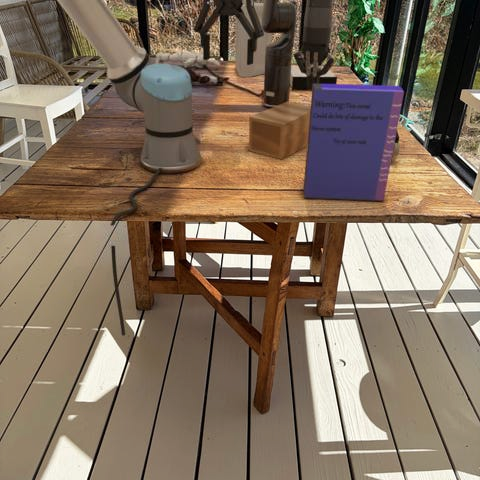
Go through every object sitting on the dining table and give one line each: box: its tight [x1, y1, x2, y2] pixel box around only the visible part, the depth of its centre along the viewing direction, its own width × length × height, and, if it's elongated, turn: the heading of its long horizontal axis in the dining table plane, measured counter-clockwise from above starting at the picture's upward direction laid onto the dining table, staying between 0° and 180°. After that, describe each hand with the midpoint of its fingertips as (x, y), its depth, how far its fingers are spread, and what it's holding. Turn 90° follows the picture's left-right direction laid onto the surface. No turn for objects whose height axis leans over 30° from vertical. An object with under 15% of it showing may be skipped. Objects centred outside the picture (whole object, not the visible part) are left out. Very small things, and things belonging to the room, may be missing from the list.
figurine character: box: [392, 131, 400, 157], centre depth 128 cm, size 7×8×15 cm
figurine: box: [175, 64, 230, 86], centre depth 193 cm, size 24×8×30 cm
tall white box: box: [234, 2, 273, 78], centre depth 210 cm, size 19×15×28 cm
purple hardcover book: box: [302, 83, 405, 202], centre depth 102 cm, size 17×5×24 cm, turn 86°
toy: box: [155, 50, 221, 69], centre depth 223 cm, size 24×25×7 cm
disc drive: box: [290, 65, 338, 91], centre depth 199 cm, size 18×22×5 cm
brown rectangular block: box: [248, 101, 311, 160], centre depth 133 cm, size 19×11×10 cm, turn 144°
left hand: (227, 61), depth 135 cm, fingers open, 13 cm apart
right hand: (311, 89), depth 139 cm, fingers closed
